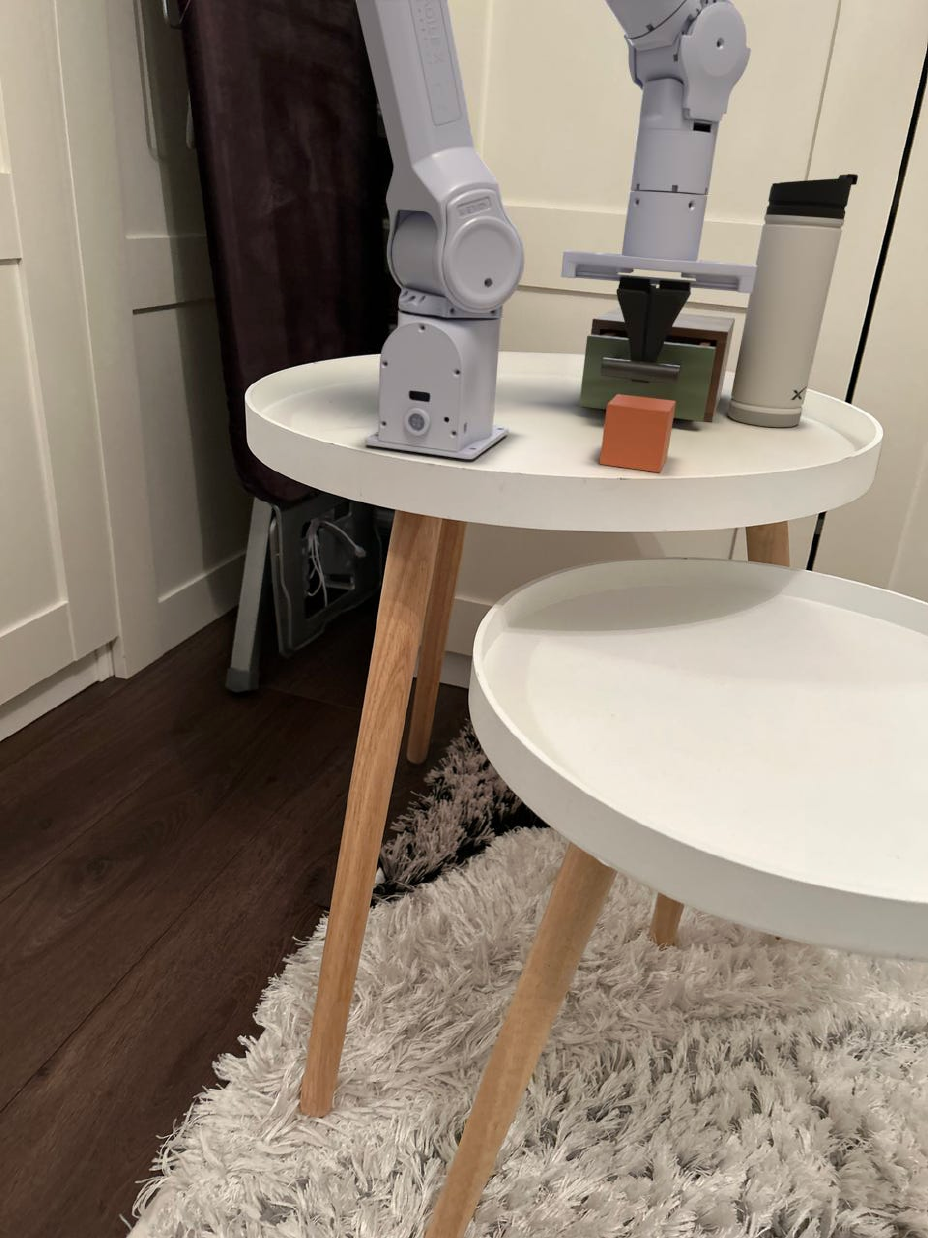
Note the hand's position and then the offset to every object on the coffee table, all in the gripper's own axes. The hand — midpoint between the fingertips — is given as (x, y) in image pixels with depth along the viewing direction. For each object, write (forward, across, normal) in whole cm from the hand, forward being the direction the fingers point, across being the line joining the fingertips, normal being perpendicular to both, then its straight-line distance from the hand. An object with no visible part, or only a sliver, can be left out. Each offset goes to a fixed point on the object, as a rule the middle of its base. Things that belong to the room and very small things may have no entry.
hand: (641, 380), depth 71 cm
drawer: (+3, 0, -6) cm, 7 cm away
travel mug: (+4, -10, -11) cm, 15 cm away
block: (+4, -2, +11) cm, 12 cm away
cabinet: (+4, 0, -14) cm, 14 cm away
